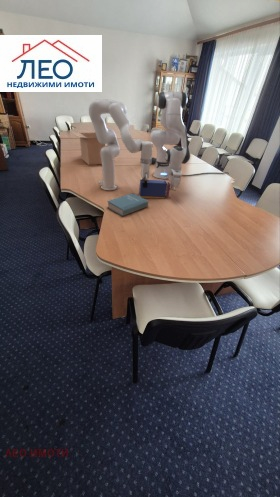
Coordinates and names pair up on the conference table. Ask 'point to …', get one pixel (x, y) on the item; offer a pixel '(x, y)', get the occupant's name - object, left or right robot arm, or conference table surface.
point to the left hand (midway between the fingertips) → (144, 185)
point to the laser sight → (153, 160)
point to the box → (90, 147)
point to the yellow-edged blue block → (153, 189)
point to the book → (127, 204)
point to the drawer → (168, 189)
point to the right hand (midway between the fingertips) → (171, 189)
